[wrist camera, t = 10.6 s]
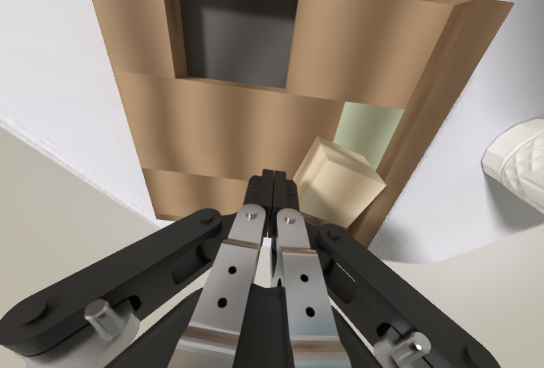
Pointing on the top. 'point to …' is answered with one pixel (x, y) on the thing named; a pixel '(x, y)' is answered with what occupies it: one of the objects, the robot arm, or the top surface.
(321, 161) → the birch block
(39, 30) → the top surface
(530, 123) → the white cup
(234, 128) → the box
